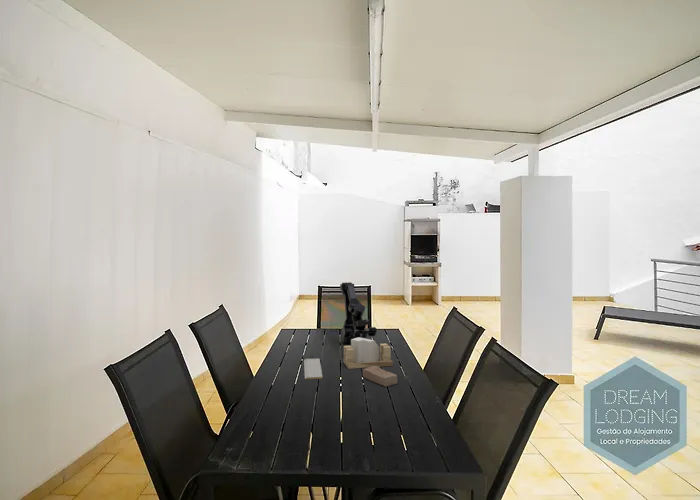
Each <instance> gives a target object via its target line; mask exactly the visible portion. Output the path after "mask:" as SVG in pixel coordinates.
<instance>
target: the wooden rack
mask: <svg viewBox="0 0 700 500" xmlns="http://www.w3.org/2000/svg"><path fill="white" fill-rule="evenodd" d="M353 353H354V349H353V348H352V347H351V345H343V363H344V365H345V366H346V367H347V369H348V370H351V369H352V370H353V369H366V368H368V367H371V366H377V367H380V368H381V367H393V363H394V361H393V360H392V359H391V355H392V354H391V353H392V352H391V346H390V345H389V344H388V343H379V360H378V361H374V362H359V363H356V362H353Z"/></svg>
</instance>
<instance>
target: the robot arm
mask: <svg viewBox="0 0 700 500" xmlns="http://www.w3.org/2000/svg"><path fill="white" fill-rule="evenodd" d="M339 289H340V292H341V295H343V299H344V309H345V320H344V322H343V325H342V329H341V331H342V335H343V342H342V344H346V345H349V346H351V339H354V338H358V337H360V338H365V339H367V335H368V336H369V337H374V336H375V337H376V335H377V332H378V331H377V330H378V329H377V328H376V327H375V326H371V327H368V329H366V326H368V325H370V320H369V318H365V319H363V316H364V313H365V309H366V306H365V305H364V304H363V303H361V301H360V300H358V298H357V295H356V290H355V284H354V283H352V282H351V281H350V282H342V283H340V285H339Z"/></svg>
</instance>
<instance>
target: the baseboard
mask: <svg viewBox="0 0 700 500" xmlns="http://www.w3.org/2000/svg"><path fill="white" fill-rule="evenodd" d="M320 360H321V359H320V358H314V356H313V355H312V356H310V355H309V358H308V357H305V356H304V357H303V358H302V361H303V365H304V366H303V368H304V370H303V371H304V380H322V379H324V378H323V371H322V366H321V361H320Z"/></svg>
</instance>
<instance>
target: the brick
mask: <svg viewBox="0 0 700 500" xmlns="http://www.w3.org/2000/svg"><path fill="white" fill-rule="evenodd" d="M362 375H363V376H362V377H363V378H364V379H366V380H369V381H370V382H373V383H376V384H378V385H380V386H383V387H389V386H393V385H397V384H398V375H397V374H395V373H393V372H390V371H387V370H385V369H382V368H381V367H377V366H371V367H368V368H362Z"/></svg>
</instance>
